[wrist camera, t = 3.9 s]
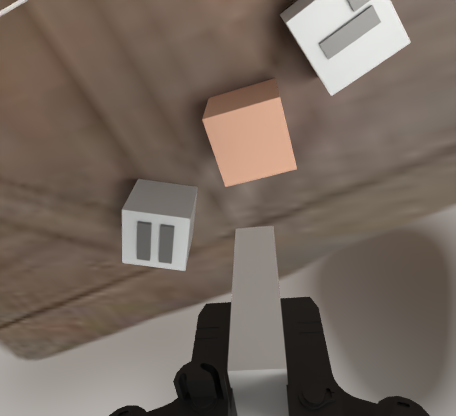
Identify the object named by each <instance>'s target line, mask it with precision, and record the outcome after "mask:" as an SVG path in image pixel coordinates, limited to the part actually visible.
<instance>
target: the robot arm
mask: <svg viewBox="0 0 456 416" xmlns="http://www.w3.org/2000/svg"><path fill="white" fill-rule="evenodd" d="M173 382H174V385H175V389H176V392H177V395H178V398H177V399H176V400H174V401H173V402H172V403H169V404H168V405H165V406H163V407H160V408H158V409H154V410H152V411H149V412H146V411H145V410H144V409H142V408H141V407H139V406H125V407H122V408H120V409H117V410H116V411H115V412H113V413H112V414H110V415H109V416H429V414H428V413H427V412H426V411H425V410H424V409H423V408H422V407H421V406H420V405H419V404H417V403H415V402H414V401H412V400H410V399H407V398H403V397H400V396H394V397H387V398H385V399H383V400H381V401H379V403H378V404H376V403H372V402H369V401H365V400H362V399H359V398H356V397H353V396H351V395H350V394H348V393H346V392H345V391H344V390H343V389H341V388H340V387H339V386H338V384H337V383H336V381H335V380H334V377H333V374H332V370H331V365H330V361H329V356H328V351H327V346H326V341H325V337H324V333H323V327H322V323H321V318H320V313H319V308H318V307H317V305H316V304H315V303H314V301H313V300H312V299H311V298H310V297H298V298H281V299H280V291H279V281H278V270H277V259H276V249H275V238H274V227H273V226H264V227H251V228H239V229H236V233H235V250H234V267H233V284H232V301H231V302H228V303H210V304H206V305H205V306H204V308H203V309H202V311H201V312H200V314H199V316H198V322H197V331H196V335H195V341H194V348H193V354H192V361H191V362H189V363H187V364H186V365H184V366H183V367H182V368H181V369H180V370H179V371H178V372H177V374H176V376H175V379H174V381H173Z"/></svg>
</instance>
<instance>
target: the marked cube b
mask: <svg viewBox="0 0 456 416" xmlns="http://www.w3.org/2000/svg"><path fill="white" fill-rule="evenodd" d="M280 16H281V18H282V19H283V21H284V23H285V24H286V26H287V27H288V29H289V31H290V32H291V34H292V35H293V37H294V39H295V40H296V42H297V44H298V45H299V47H300V48H301V50H302V52H303V53H304V55H305V56H306V58H307V60H308V61H309V63H310V64H311V66H312V68H313V69H314V71H315V73H316V74H317V76H318V77H319V79H320V80H321V82H322V83H323V85H324V86H325V88H326V89H327V91H328V92H329V93H330V95H331V96H332V95H334V94H335V93H337V92H338V91H340V90H341V89H343V88H344V87H346V86H347V85H349V84H350V83H352V82H353V81H355V80H356V79H357V78H359V77H360V76H362V75H363V74H365V73H366V72H368V71H369V70H371V69H372V68H374V67H375V66H377V65H378V64H380V63H381V62H383V61H384V60H386V59H387V58H389V57H390V56H392V55H393V54H395V53H396V52H398V51H399V50H400V49H402V48H403V47H405V46H406V45H408V44H409V43H411V42H410V40H409V38H408V36H407V34H406V32H405V30H404V27H403V25H402V23H401V21H400V19H399V17H398V15H397V13H396V11H395V9H394V7H393V5H392V3H391V1H390V0H298V1H296V2H295V3H294V4H293V5H291V6H290V7H289V8H288V9H286V10H285V11H284V12H283V13H281V14H280Z"/></svg>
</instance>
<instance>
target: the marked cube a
mask: <svg viewBox="0 0 456 416" xmlns="http://www.w3.org/2000/svg"><path fill="white" fill-rule="evenodd" d="M197 189H198V187H194V186H187V185H180V184H173V183H166V182H158V181H151V180H144V179H138V180H137V182H136V184H135V186H134V188H133V190H132V191H131V193H130V195H129V197H128V199H127V201H126V203H125V205H124V207H123V208H122V263H128V264H136V265H144V266H151V267H159V268H167V269H174V270H182V271H185V270H186V265H187V260H188V255H189V250H190V245H191V241H192V236H193V227H194V217H195V208H196V199H197Z"/></svg>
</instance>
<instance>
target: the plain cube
mask: <svg viewBox="0 0 456 416" xmlns="http://www.w3.org/2000/svg"><path fill="white" fill-rule="evenodd" d="M202 120H203V123H204V126H205V129H206V132H207V135H208V138H209V141H210V143H211V146H212V149H213V152H214V155H215V158H216V161H217V164H218V166H219V169H220V172H221V175H222V178H223V181H224V184H225V187H227V186H231V185H235V184H239V183H243V182H247V181H251V180H255V179H259V178H263V177H267V176H271V175H275V174H279V173H283V172H287V171H291V170H295V169H297V167H296V163H295V158H294V154H293V150H292V146H291V141H290V137H289V133H288V129H287V125H286V120H285V116H284V112H283V108H282V104H281V99H280V95H279V91H278V87H277V83H276V79H275V78H274V79H270V80H267V81H264V82H260V83H257V84H254V85H250V86H247V87H244V88H240V89H237V90H234V91H230V92H227V93H224V94H220V95H217V96H214V97H210V98H209V99H208V102H207V106H206V109H205V112H204V115H203V118H202Z"/></svg>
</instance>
